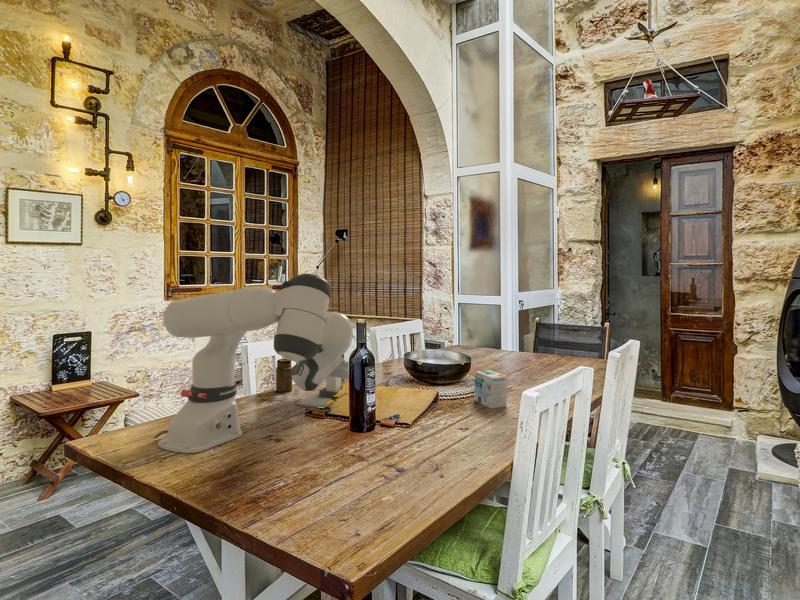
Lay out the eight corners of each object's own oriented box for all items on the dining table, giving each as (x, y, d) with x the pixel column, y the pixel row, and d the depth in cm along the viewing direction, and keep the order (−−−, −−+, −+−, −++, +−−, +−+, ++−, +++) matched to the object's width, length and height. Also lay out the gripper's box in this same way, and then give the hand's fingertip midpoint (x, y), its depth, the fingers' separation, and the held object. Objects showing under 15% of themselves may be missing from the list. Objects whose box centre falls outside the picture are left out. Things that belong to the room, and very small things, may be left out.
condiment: (293, 388, 185) (293, 357, 184) (293, 394, 177) (293, 362, 176) (274, 389, 183) (274, 358, 182) (273, 395, 175) (273, 362, 174)
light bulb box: (473, 400, 172) (474, 371, 171) (489, 398, 175) (489, 369, 174) (491, 408, 162) (492, 377, 161) (507, 406, 165) (508, 376, 164)
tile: (321, 408, 160) (321, 407, 159) (296, 405, 163) (296, 403, 163) (336, 400, 169) (336, 399, 169) (311, 397, 172) (311, 396, 172)
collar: (337, 398, 172) (337, 392, 172) (319, 395, 175) (319, 390, 175) (347, 392, 179) (347, 387, 179) (329, 390, 182) (329, 385, 182)
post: (335, 396, 175) (335, 373, 174) (326, 395, 176) (326, 372, 175) (340, 393, 178) (340, 371, 178) (331, 392, 180) (331, 370, 179)
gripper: (349, 353, 164) (361, 374, 174) (298, 348, 171) (313, 369, 181) (343, 368, 160) (356, 389, 170) (291, 363, 168) (306, 384, 177)
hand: (333, 379), depth 176 cm, fingers open, 8 cm apart
